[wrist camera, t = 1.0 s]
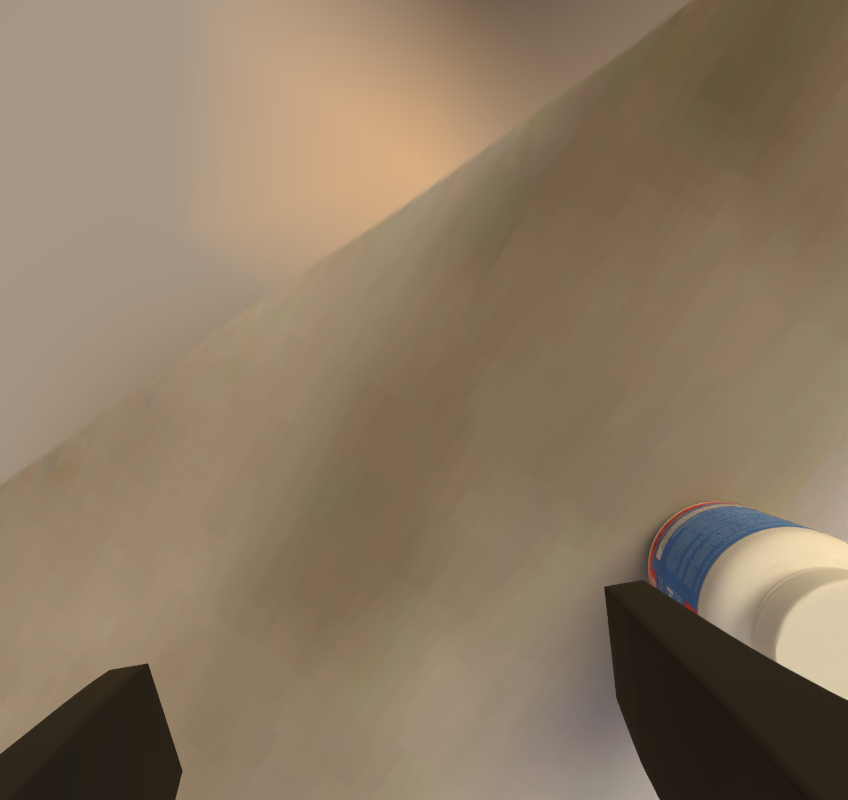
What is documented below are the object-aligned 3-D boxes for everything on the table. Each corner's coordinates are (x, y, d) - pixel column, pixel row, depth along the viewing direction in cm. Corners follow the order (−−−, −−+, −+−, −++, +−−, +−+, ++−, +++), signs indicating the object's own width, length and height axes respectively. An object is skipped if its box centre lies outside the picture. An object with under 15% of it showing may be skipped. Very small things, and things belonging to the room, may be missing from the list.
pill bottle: (616, 572, 25) (693, 664, 16) (703, 472, 25) (835, 500, 15) (726, 665, 25) (876, 819, 15) (816, 562, 24) (1028, 652, 15)
